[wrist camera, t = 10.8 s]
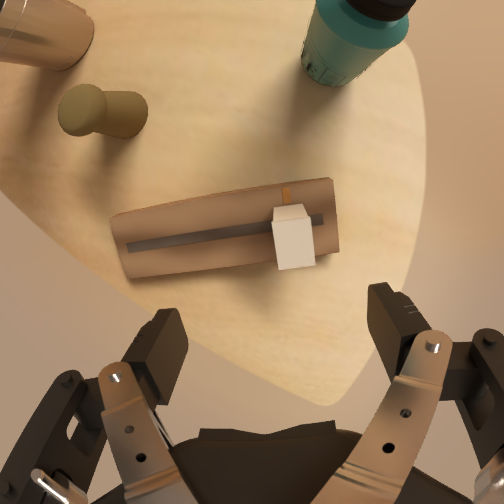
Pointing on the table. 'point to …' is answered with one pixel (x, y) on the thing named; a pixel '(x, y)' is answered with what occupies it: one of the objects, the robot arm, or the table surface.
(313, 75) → the beverage bottle
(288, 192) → the console track
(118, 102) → the cork
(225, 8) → the table surface
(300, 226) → the fader tab
